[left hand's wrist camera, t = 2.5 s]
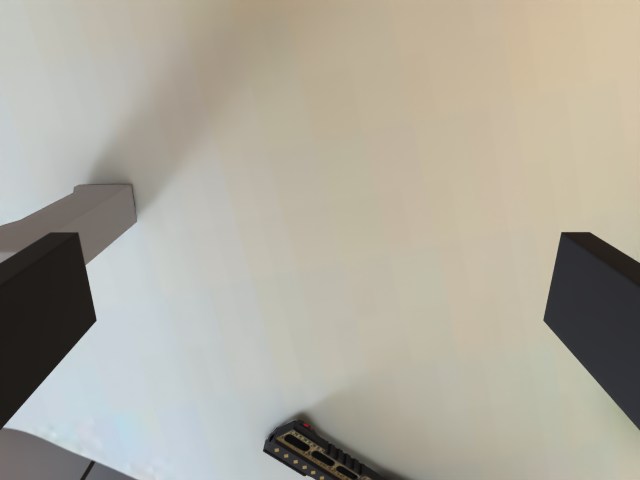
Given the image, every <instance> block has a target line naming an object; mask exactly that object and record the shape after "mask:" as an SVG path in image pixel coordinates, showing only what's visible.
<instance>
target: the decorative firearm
mask: <svg viewBox="0 0 640 480" xmlns="http://www.w3.org/2000/svg"><path fill="white" fill-rule="evenodd" d="M263 452H265V453H267V454H268V455H270V456H272V457H273V458H275V459H276V460H278V461H280V462H281V463H283V464H285V465H286V466H288V467H290V468H291V469H293V470H294V471H296V472H298V473H299V474H301V475H303V476H306V475H307V476H310V477H312V478H314V479H316V480H387V479H386V478H384V477H383V476H381V475H379V474H378V473H376V472H375V471H373V470H372V469H370V468H368V467H367V466H365V465H364V464H363V463H359V462H358V460H356V459H355V458H351V456H350V455H349V454H347V453H346V454H345V453H343V451H342V450H341V449H337V448H336V447H335V446H334V445H333V444H329V443H328V441H326V440H324V439H323V438H321V437H320V436H318V435H317V434H316V433H315V432H314V430H313V429H312V428H311V426H309V425H307V424H305V423H304V422H303V421H302V420H298V421H292V422H290V423H288V424H287V425H285V426H283V427H281V428H279V429H278V428H277V429H276V430H275V431H273V432H272V433H271V434H270V436H269V438H268V439H266V441H265V445H264V449H263Z"/></svg>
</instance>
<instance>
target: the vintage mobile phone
mask: <svg viewBox="0 0 640 480" xmlns="http://www.w3.org/2000/svg"><path fill="white" fill-rule="evenodd" d="M136 222H137V218H136V212H135V206H134V200H133V194H132V187H131V185H130V184H118V185H78V186H76V187H74V192H73V193H72V194H70V195H68V196H66V197H64V198H62V199H60V200H58V201H56V202H54V203H52V204H50V205H49V206H47V207H45V208H43V209H41V210H39V211H37V212H35V213H33V214H31V215H29V216H27V217H25V218H23V219H21V220H19V221H15V222H12V223H8V224H5V225H2V226H0V263H1V262H3V261H4V260H6V259H8V258H9V257H11V256H13V255H14V254H16V253H17V252H19V251H21V250H22V249H24V248H26V247H27V246H29V245H30V244H32V243H34V242H35V241H37V240H39V239H40V238H42V237H43V236H45V235H47V234H48V233H50V232H79V237H80V242H81V247H82V252H83V257H84V262H85V265H86V264H88V263H89V262H90V261H91V260H92V259H93V258H95V257H96V256H97V255H98V254H99V253H101V252H102V251H103V250H104V249H105V248H106V247H108V246H109V245H110V244H111V243H112V242H113V241H115V240H116V239H117V238H118V237H119V236H121V235H122V234H123V233H124V232H125V231H126V230H128V229H129V228H130V227H131V226H132V225H134V224H135V223H136Z"/></svg>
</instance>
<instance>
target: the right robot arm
mask: <svg viewBox="0 0 640 480" xmlns="http://www.w3.org/2000/svg"><path fill="white" fill-rule="evenodd" d="M95 462H96V461H94V460H92V461H91V462H90V464H89V466H88V467H87V469H86V471H85V472H84V474H83V475H82V477H81V479H80V480H85V479H86V477H87V476H88V474H89V472H90V471H91V469H92V467H93V466H94V464H95Z"/></svg>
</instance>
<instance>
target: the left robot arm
mask: <svg viewBox="0 0 640 480" xmlns="http://www.w3.org/2000/svg"><path fill="white" fill-rule="evenodd" d="M96 321H97V320H96V315H95V310H94V305H93V300H92V295H91V291H90V286H89V281H88V276H87V271H86V266H85V262H84V257H83V252H82V247H81V242H80V237H79V232H50V233H48V234H47V235H45V236H43V237H42V238H40V239H39V240H37V241H35V242H34V243H32V244H30V245H29V246H27V247H26V248H24V249H22V250H21V251H19V252H17V253H16V254H14V255H13V256H11V257H9V258H8V259H6V260H4V261H3V262H1V263H0V430H1V429H2V427H3V426H4V425H5V424H6V423H7V422H8V421H9V420H10V418H11V417H12V416H13V415H14V414H15V413H16V412H17V410H18V409H19V408H20V407H21V406H22V405H23V404H24V402H25V401H26V400H27V399H28V398H29V397H30V396H31V394H32V393H33V392H34V391H35V390H36V389H37V388H38V387H39V385H40V384H41V383H42V382H43V381H44V380H45V379H46V377H47V376H48V375H49V374H50V373H51V372H52V371H53V369H54V368H55V367H56V366H57V365H58V364H59V363H60V361H61V360H62V359H63V358H64V357H65V356H66V355H67V354H68V352H69V351H70V350H71V349H72V348H73V347H74V346H75V344H76V343H77V342H78V341H79V340H80V339H81V338H82V336H83V335H84V334H85V333H86V332H87V331H88V330H89V329H90V327H91V326H92V325H93V324H94V323H95V322H96ZM543 321H544V322H545V323H546V324H547V325H548V326H549V327H550V329H551V330H552V331H553V332H554V333H555V334H556V335H557V336H558V338H559V339H560V340H561V341H562V342H563V343H564V344H565V346H566V347H567V348H568V349H569V350H570V351H571V352H572V354H573V355H574V356H575V357H576V358H577V359H578V360H579V361H580V363H581V364H582V365H583V366H584V367H585V368H586V369H587V371H588V372H589V373H590V374H591V375H592V376H593V377H594V379H595V380H596V381H597V382H598V383H599V384H600V385H601V387H602V388H603V389H604V390H605V391H606V392H607V393H608V394H609V396H610V397H611V398H612V399H613V400H614V401H615V402H616V404H617V405H618V406H619V407H620V408H621V409H622V410H623V412H624V413H625V414H626V415H627V416H628V417H629V418H630V420H631V421H632V422H633V423H634V424H635V425H636V426H637V427H638V429H639V430H640V263H639V262H637V261H636V260H634V259H632V258H631V257H629V256H627V255H626V254H624V253H623V252H621V251H619V250H618V249H616V248H614V247H613V246H611V245H610V244H608V243H606V242H605V241H603V240H601V239H600V238H598V237H597V236H595V235H593V234H592V233H590V232H561V237H560V242H559V247H558V252H557V257H556V262H555V266H554V271H553V276H552V281H551V286H550V291H549V295H548V300H547V305H546V310H545V315H544V320H543Z"/></svg>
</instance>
